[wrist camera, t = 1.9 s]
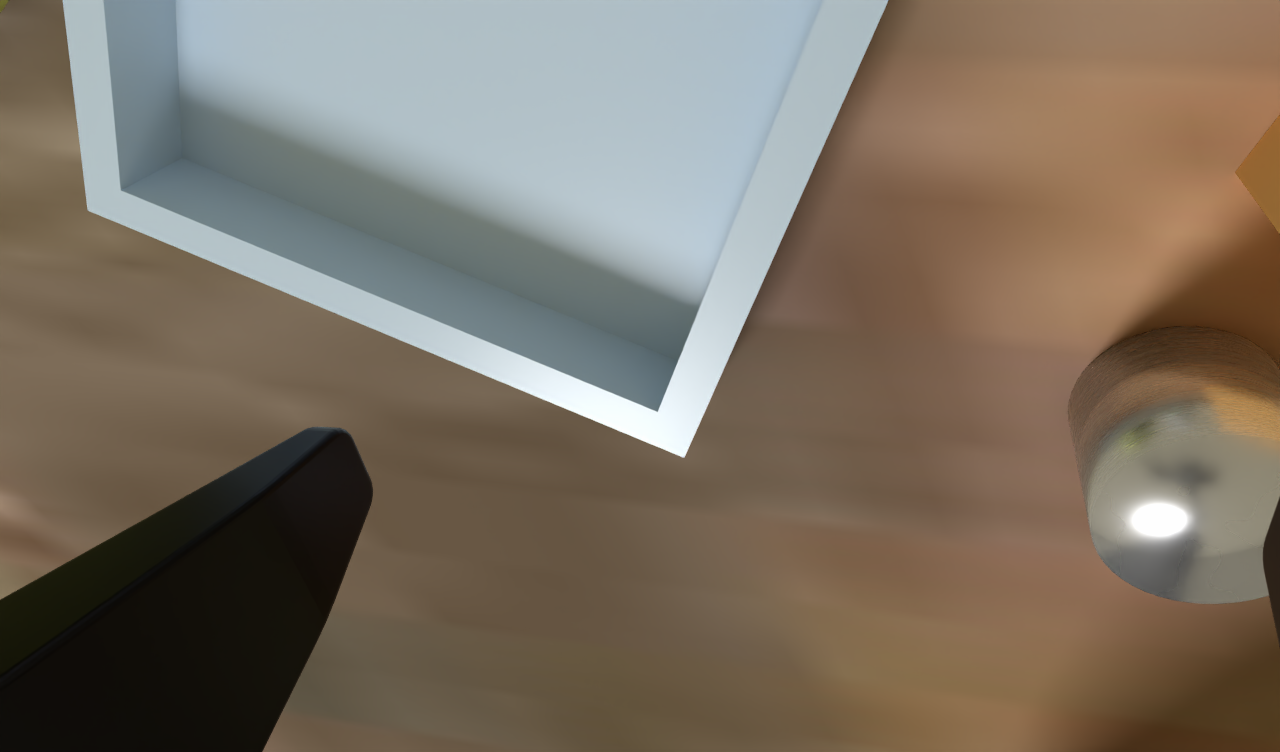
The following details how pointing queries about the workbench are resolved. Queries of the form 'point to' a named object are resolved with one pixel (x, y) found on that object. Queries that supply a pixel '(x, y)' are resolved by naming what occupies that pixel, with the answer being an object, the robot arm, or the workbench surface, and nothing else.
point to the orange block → (1265, 173)
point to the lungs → (3, 4)
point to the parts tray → (481, 169)
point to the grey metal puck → (1180, 461)
